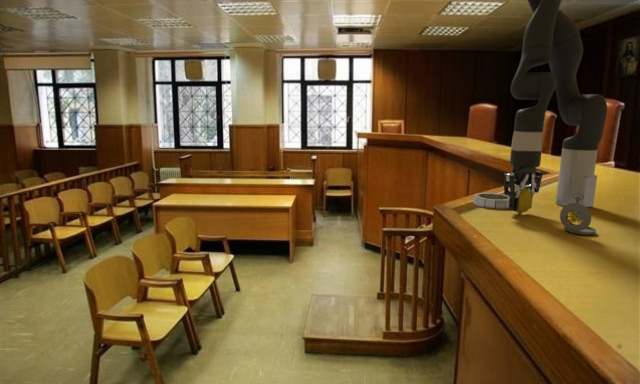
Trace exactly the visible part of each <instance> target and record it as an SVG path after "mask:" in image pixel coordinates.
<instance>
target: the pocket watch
mask: <svg viewBox="0 0 640 384" xmlns="http://www.w3.org/2000/svg"><path fill="white" fill-rule="evenodd" d="M574 194H580V193H573V194H572V197H573V195H574ZM580 195H581V196H582V198H581V199H580V198H579V196H577V198H574V197H573V198H574V199H575V200H576V203H570V204H567V205H566V206H563V207H562V209H561V210H560V212H559V213H560V214H559V219H560V222H561V224H562V225H563V228H564V230H565V231H566V232H569V233H573V234H577V235H585V236H586V235H594V234H596V233H597V229H596V228H595V227H590V224H591V222H592V214H591V211H590V210H589V207H586V206H584V205H582V204H580V203H579V201H580V200H582V199H583V198H584V196H583V195H582V194H580ZM576 222H577V224H575V223H576Z"/></svg>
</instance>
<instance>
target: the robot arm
mask: <svg viewBox="0 0 640 384" xmlns="http://www.w3.org/2000/svg"><path fill="white" fill-rule="evenodd" d="M527 2H528V4H529V6H530V10H531V11H532V14H533V15H532V16H531V18H530V20H529V21H528V23H527V25H526V27H525V30H524V33H523V38H522V41H523V42H522V50H521V56H520V57H521V58H520V61H519V65H518V67H517V70H516V72H515V74H514V77H513V79H512V81H511V85H510V94H511V95H512V97H513V98H514V99H515V100H527V101H528V100H529V101H530V100H531V101H532V100H534V101H535V100H538V102H537V104H536V105H535V106H532V107H527V108H523V109H518V110H517V111H516V113H515V118H514V127H513V128H514V129H513V133H512V139H511V146H510V147H511V148H510V149H511V150H510V157H509V158H510V160H509V165H510V166H512V170H511V172H510V173H504V175H503V193H504V194H503V195H508V196H509V197H510V199H509V208H508V210H509V211H512V212H516V211H517V210H518V200H519V198H518V197H519V194H520V191H521V190H523V188H524V187H525V188H526V189H528V190H529V191H530V192H531V195H532V200H533V197H534V196H535V194H537V193H539V191H540V188H541V184H542V179H543V174H544V173H543V171H539V170H536V168H539V167H540V166H541V160H542V152H543V142H544V138H543V137H544V133H543V131H544V125H545V117H546V113H547V109H548V107H549V103H550V101H551V99H552V96H553V95H554V92H555V94H556V100H557V105H558V111H559V115H560V117H561V119H562V121H563V122H564V123H565V125H569V126H575V127H578V130H577V132H576V133H575V134H574V135H572V136H569V137H567V138H564V139H563V141H562V148H561V157H560V164H559V172H558V181H557V187H556V188H557V189H556V197H555V204H556V205H559V206H563V207H564V206H566V205H567V204H570V203H576V200H575V199H574V198H577V196H579V198H580V199H581V198H582V196H581V195H580V194H582V195H583V196H584V198H583V199H582V200H580V201H579V203H580V204H582V205H584V206H586V207H587V208H592V207H594V203H595V202H594V201H595V195H596V189H597V188H596V187H597V182H598V181H597V180H598V175H596V174H595V172H596V166H597V157H598V150H599V145H600V143H601V141H602V139H603V135H604V129H605V124H606V119H607V114H608V104H607V100H606V98H605V97H604V96H603V95H601V94H597V93H596V94H595V93H594V94H591V93H590V94H588V93H587V94H581V93H580V89H579V86H578V82H577V72H578V70H579V67H580V65H581V61H582V58H583V54H584V46H583V40H582V38H581V33H580V31H579V30H580V29H579V27H578V25H577V23H576V22H575V21H574V20H573V19H572V18H570V16H568V15H567V14H566V13H564V11H562V10H561V9H559V8H560V5H561V3H562V0H527ZM547 63H548V65H549V69H550V72H549V71H540V72H539V71H538V72H537V71H534V72H533V71H532V72H531V71H530V72H529V70H531V69H532V68H535V67H539V66H543V65H546V64H547ZM515 189H517V190H516V193H515ZM573 193H580V194H574V195H573V197H574V198H573V197H572V194H573ZM532 205H533V204H532ZM532 205H531V207H530V208H529V210H530V209H532Z"/></svg>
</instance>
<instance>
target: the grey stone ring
mask: <svg viewBox="0 0 640 384" xmlns="http://www.w3.org/2000/svg"><path fill="white" fill-rule="evenodd" d="M509 199H510V197H509V196H508V195H505V194H503V193H495V192H480V193H474V195H473V201H472V204H473V203H474V204H473V205H475V206H477V207H481V208H486V209H487V208H489V209H493V210H494V209H496V210H497V209H501V210H502V209H504V210H505V209H509Z"/></svg>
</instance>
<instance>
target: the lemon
mask: <svg viewBox="0 0 640 384" xmlns="http://www.w3.org/2000/svg"><path fill="white" fill-rule="evenodd" d="M528 189H529V188H528ZM528 189H526V188H525V187H524V188H523V190H521V191H520V194H519V197H518V198H519V200H518V210H517V211H515V213H517V214H518V215H521V214H523V213H525V212H528V211H530V209H531V208H532V206H531V205H533V199H532V195H531V192H530V191H529V190H528ZM516 190H517V189H515V193H516ZM530 207H531V208H530ZM529 208H530V209H529Z"/></svg>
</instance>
